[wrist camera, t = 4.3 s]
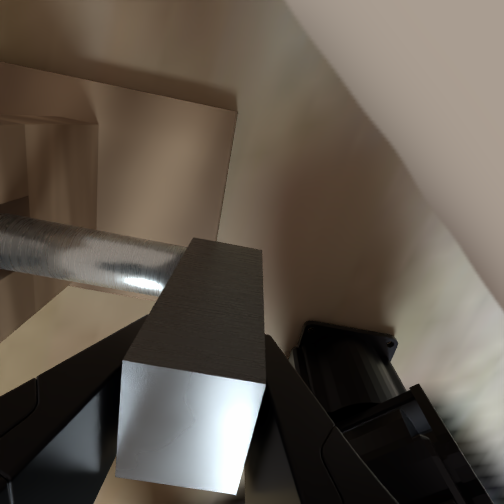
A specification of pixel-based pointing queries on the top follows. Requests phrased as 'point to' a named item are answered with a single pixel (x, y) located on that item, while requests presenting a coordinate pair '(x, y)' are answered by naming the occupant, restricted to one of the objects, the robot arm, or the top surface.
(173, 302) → the shaft
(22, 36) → the top surface
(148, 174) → the bearing stand
